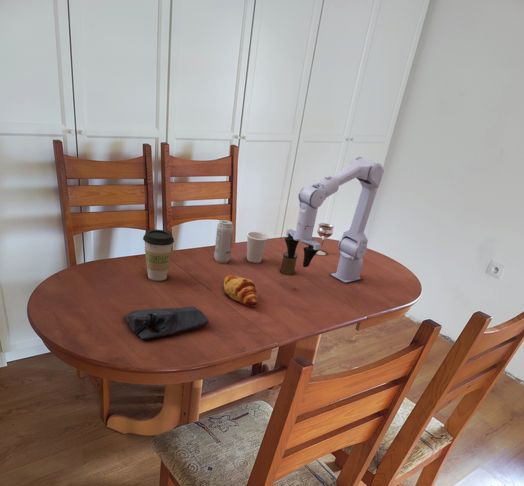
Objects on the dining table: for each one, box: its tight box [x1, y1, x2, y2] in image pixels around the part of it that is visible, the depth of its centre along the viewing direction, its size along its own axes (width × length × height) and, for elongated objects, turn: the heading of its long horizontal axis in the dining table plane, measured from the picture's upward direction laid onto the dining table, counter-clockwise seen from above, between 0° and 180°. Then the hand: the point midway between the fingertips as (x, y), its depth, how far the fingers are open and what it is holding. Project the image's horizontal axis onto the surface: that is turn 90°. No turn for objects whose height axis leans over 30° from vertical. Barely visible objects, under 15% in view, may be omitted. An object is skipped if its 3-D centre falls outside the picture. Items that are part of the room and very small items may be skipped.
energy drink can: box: [213, 219, 234, 264], centre depth 177 cm, size 6×6×15 cm
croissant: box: [223, 274, 258, 307], centre depth 156 cm, size 21×10×8 cm, turn 30°
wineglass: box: [315, 222, 335, 256], centre depth 202 cm, size 7×7×12 cm
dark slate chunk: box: [125, 305, 209, 341], centre depth 134 cm, size 15×22×5 cm
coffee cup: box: [142, 229, 175, 282], centre depth 157 cm, size 10×10×15 cm
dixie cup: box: [246, 231, 269, 264], centre depth 184 cm, size 8×8×10 cm
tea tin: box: [280, 251, 299, 276], centre depth 180 cm, size 6×6×7 cm
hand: (298, 262), depth 164 cm, fingers open, 7 cm apart
